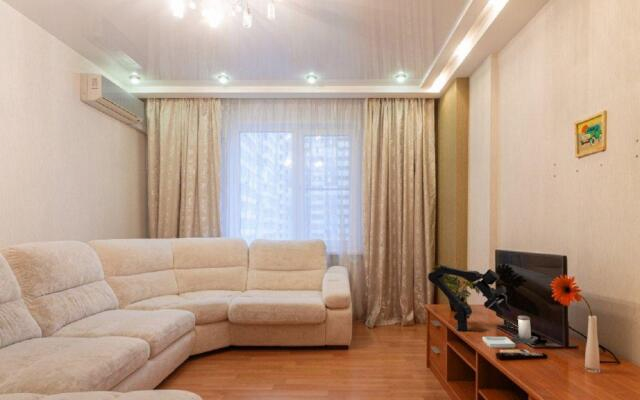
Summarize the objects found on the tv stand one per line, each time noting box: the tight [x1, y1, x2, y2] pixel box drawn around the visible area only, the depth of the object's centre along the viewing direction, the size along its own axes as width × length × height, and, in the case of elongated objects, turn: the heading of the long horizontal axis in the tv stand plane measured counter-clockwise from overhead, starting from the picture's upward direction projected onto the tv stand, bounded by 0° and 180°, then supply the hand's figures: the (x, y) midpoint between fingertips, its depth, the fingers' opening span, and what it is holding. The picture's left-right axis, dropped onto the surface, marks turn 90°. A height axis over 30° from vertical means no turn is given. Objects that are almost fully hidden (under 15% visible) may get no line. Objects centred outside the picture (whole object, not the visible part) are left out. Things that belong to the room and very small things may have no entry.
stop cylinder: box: [517, 315, 532, 340], centre depth 200 cm, size 6×6×12 cm
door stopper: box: [503, 319, 519, 329], centre depth 230 cm, size 9×6×12 cm, turn 169°
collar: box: [511, 333, 539, 345], centre depth 200 cm, size 9×9×2 cm
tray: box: [482, 336, 516, 349], centre depth 197 cm, size 12×12×2 cm
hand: (507, 313), depth 207 cm, fingers open, 9 cm apart
